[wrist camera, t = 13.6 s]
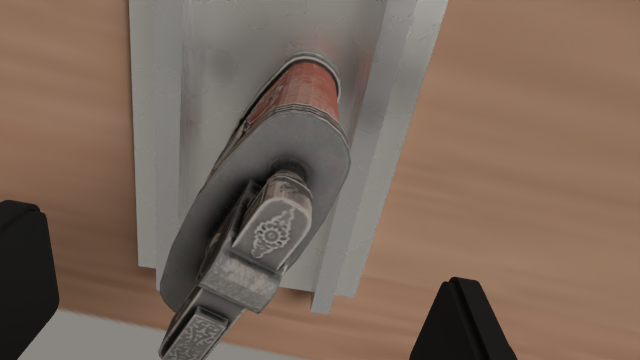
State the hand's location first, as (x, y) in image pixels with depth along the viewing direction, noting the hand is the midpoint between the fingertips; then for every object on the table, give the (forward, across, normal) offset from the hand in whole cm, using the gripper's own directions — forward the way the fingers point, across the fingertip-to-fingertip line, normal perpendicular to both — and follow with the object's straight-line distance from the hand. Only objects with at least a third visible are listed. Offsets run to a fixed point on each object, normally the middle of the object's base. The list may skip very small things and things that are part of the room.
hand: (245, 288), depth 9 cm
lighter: (+10, +1, 0) cm, 10 cm away
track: (+10, +1, 0) cm, 10 cm away
